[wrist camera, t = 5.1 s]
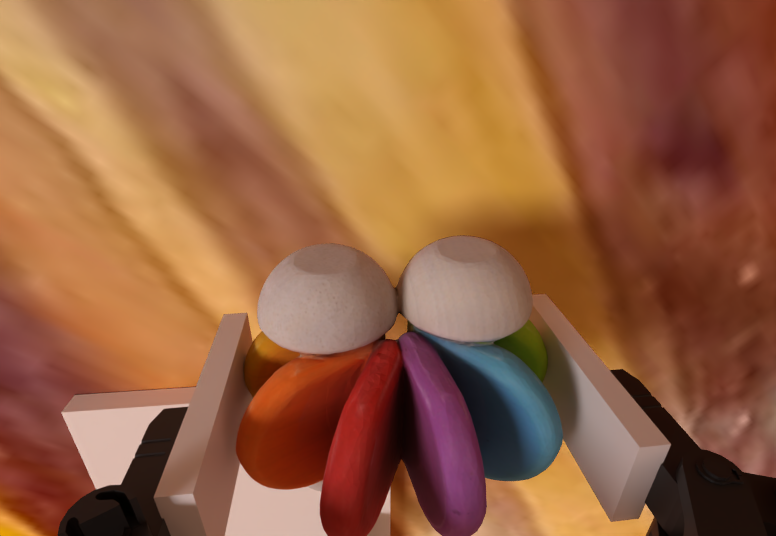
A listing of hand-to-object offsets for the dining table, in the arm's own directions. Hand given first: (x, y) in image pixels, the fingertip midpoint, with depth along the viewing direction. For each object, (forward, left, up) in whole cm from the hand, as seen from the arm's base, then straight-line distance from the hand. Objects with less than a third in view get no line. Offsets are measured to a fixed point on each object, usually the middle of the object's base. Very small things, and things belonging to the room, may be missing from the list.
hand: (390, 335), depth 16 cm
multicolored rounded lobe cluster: (0, 0, -1) cm, 1 cm away
